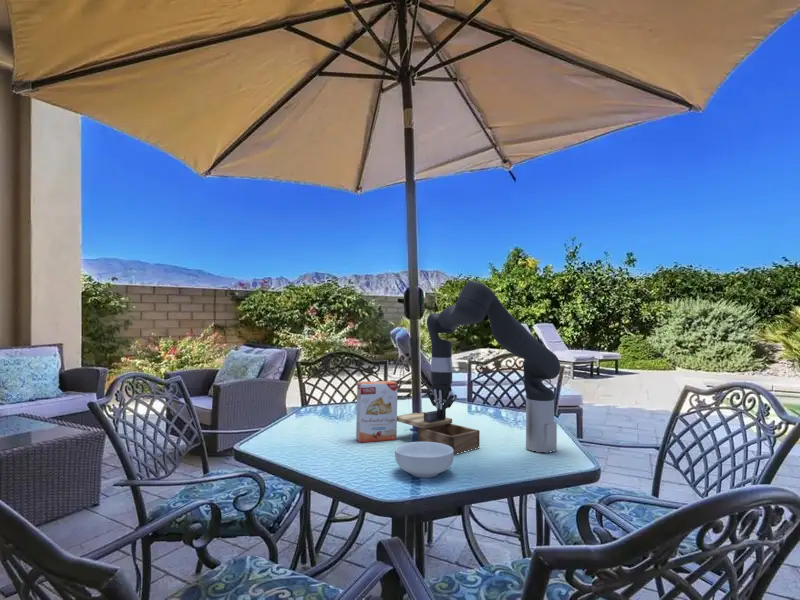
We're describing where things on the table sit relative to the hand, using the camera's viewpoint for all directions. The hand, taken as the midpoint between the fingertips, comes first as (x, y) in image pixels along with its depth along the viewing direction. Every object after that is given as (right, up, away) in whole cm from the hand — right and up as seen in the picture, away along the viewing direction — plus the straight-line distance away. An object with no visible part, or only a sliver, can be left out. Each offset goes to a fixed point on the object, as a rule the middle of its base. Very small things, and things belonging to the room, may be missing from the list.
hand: (441, 419), depth 165 cm
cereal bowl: (-8, -8, -30) cm, 32 cm away
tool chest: (+2, -9, -3) cm, 9 cm away
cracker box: (-23, -9, +6) cm, 25 cm away
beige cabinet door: (-6, -3, +7) cm, 10 cm away
